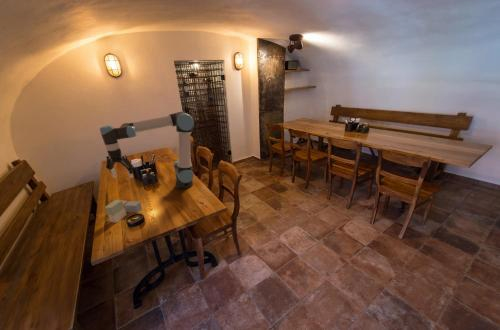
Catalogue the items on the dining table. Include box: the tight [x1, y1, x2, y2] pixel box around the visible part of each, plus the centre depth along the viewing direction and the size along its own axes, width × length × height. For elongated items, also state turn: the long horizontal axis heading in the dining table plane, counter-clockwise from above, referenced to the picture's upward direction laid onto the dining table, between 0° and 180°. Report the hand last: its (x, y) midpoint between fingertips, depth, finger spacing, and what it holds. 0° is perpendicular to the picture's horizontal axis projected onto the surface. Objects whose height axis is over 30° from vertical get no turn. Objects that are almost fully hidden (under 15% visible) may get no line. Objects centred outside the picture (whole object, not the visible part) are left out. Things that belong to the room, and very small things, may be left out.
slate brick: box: [124, 200, 143, 214], centre depth 149 cm, size 9×5×6 cm, turn 81°
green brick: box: [104, 199, 124, 216], centre depth 138 cm, size 5×9×6 cm, turn 167°
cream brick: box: [107, 208, 128, 224], centre depth 141 cm, size 5×9×6 cm, turn 167°
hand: (123, 177), depth 146 cm, fingers open, 13 cm apart
